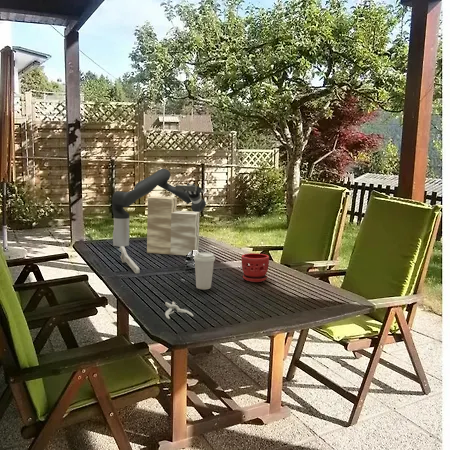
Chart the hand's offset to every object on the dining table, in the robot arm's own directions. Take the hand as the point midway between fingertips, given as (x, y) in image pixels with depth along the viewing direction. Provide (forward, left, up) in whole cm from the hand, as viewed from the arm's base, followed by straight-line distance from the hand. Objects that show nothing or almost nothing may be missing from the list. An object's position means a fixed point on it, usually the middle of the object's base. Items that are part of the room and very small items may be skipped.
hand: (190, 184), depth 288 cm
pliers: (+1, -120, -39) cm, 126 cm away
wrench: (-28, -56, -39) cm, 74 cm away
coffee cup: (+11, -88, -39) cm, 97 cm away
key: (-1, -5, -3) cm, 6 cm away
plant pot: (+35, -73, -39) cm, 90 cm away
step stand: (-8, -19, -39) cm, 44 cm away
